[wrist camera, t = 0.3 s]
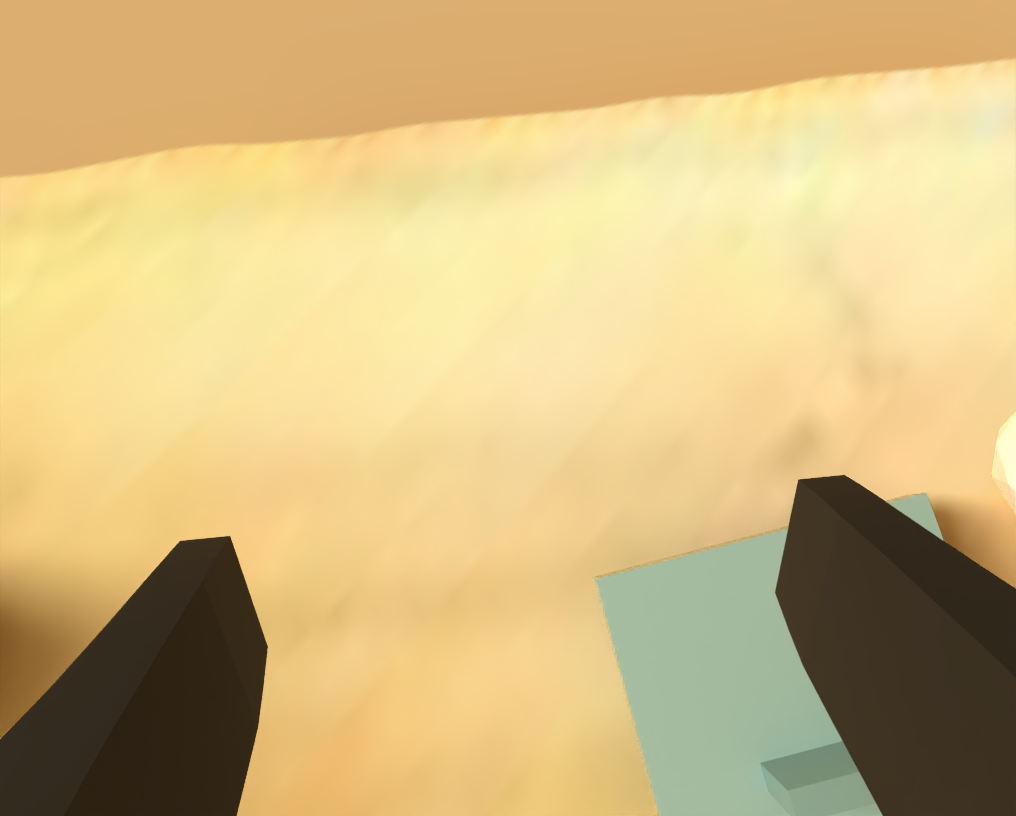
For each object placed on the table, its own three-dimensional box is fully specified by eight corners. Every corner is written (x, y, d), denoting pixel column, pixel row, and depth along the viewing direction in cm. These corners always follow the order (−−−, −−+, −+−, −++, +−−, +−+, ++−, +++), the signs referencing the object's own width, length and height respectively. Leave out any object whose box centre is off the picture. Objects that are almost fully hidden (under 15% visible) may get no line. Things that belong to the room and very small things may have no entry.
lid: (1064, 937, 32) (1170, 1017, 26) (715, 1029, 32) (751, 1128, 26) (906, 495, 35) (972, 486, 30) (593, 577, 35) (602, 583, 30)
